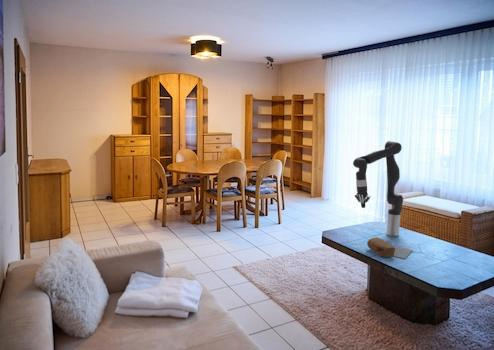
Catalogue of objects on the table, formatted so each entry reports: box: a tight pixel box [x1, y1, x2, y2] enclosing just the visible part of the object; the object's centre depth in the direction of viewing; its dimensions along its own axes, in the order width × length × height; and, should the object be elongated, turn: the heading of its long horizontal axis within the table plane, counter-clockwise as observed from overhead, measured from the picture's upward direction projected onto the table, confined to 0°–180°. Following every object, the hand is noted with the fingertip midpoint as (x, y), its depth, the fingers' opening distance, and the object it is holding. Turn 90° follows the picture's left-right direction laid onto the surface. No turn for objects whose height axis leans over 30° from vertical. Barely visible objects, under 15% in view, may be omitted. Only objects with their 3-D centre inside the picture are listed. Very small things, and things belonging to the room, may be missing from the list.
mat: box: [392, 245, 414, 260], centre depth 285 cm, size 20×20×1 cm
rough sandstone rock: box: [366, 237, 395, 258], centre depth 281 cm, size 11×8×20 cm
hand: (363, 207), depth 303 cm, fingers closed
